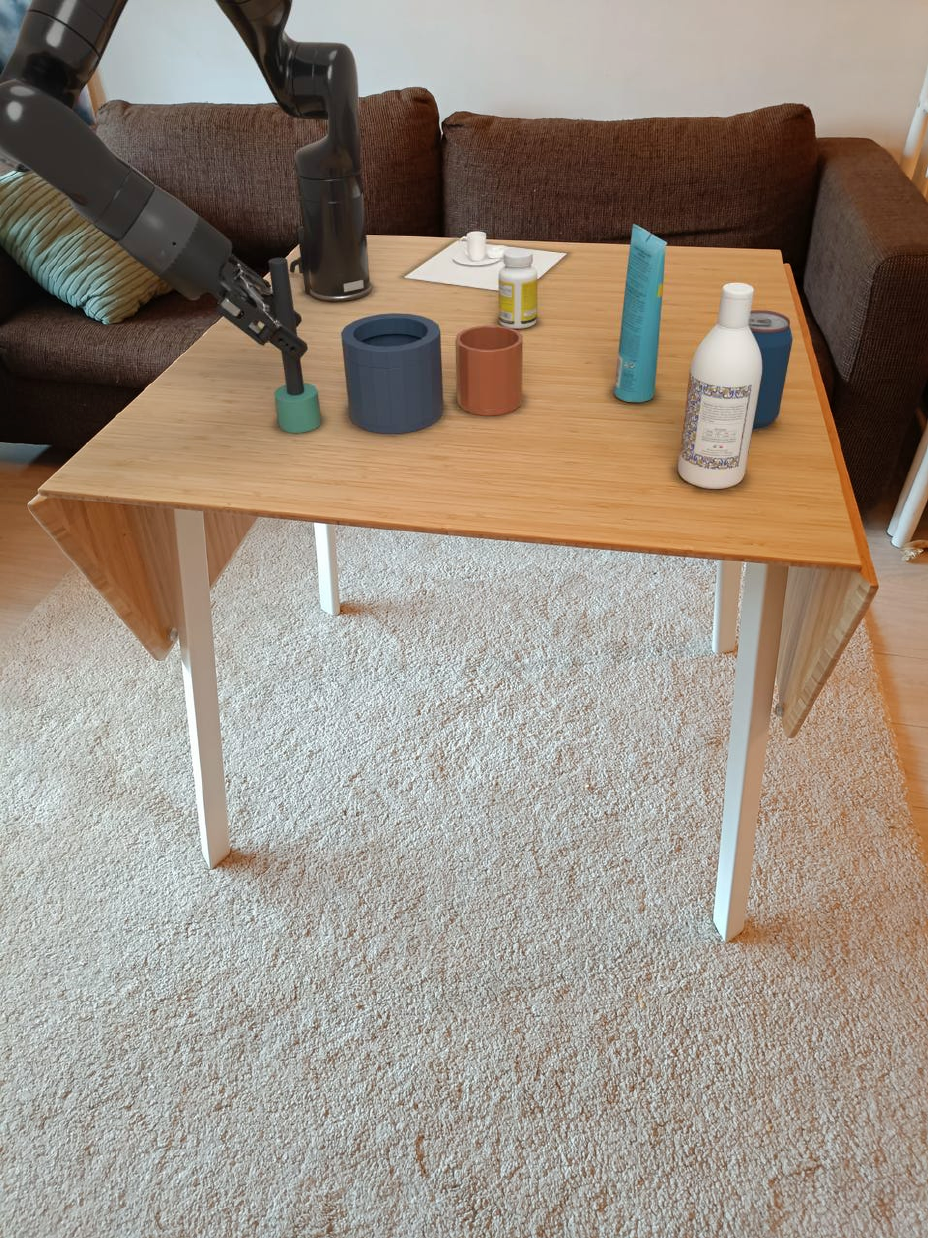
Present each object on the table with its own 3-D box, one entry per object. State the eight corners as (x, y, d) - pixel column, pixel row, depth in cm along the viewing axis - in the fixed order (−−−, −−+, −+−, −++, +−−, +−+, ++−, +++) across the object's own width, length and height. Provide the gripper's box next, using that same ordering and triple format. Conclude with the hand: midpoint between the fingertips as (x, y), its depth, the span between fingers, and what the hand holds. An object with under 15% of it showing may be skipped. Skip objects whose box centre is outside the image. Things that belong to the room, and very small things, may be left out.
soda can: (775, 409, 116) (794, 309, 109) (778, 436, 111) (797, 333, 104) (715, 405, 118) (730, 306, 110) (715, 431, 112) (730, 329, 105)
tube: (667, 402, 119) (686, 238, 107) (634, 410, 117) (649, 245, 105) (633, 379, 124) (647, 220, 112) (600, 387, 122) (611, 227, 110)
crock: (446, 408, 119) (443, 344, 114) (475, 382, 124) (474, 321, 119) (504, 420, 116) (504, 355, 111) (532, 394, 121) (533, 331, 116)
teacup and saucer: (513, 255, 162) (513, 230, 160) (494, 270, 157) (494, 244, 154) (465, 249, 165) (464, 224, 163) (444, 264, 160) (443, 238, 157)
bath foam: (697, 452, 109) (723, 269, 96) (755, 471, 105) (789, 284, 93) (664, 477, 105) (686, 289, 92) (723, 498, 101) (754, 306, 89)
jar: (331, 422, 116) (321, 340, 110) (381, 385, 124) (374, 307, 118) (413, 441, 112) (407, 357, 106) (459, 402, 120) (457, 322, 114)
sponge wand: (270, 427, 116) (244, 264, 104) (295, 410, 119) (273, 250, 107) (305, 436, 114) (282, 270, 102) (329, 418, 117) (310, 256, 106)
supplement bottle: (537, 315, 141) (539, 245, 135) (535, 330, 137) (537, 258, 131) (499, 315, 142) (499, 245, 136) (497, 329, 138) (497, 258, 132)
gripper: (195, 235, 95) (327, 337, 104) (196, 195, 106) (315, 291, 115) (151, 294, 97) (283, 390, 106) (156, 250, 108) (275, 340, 117)
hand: (300, 338), depth 110 cm, fingers open, 8 cm apart
